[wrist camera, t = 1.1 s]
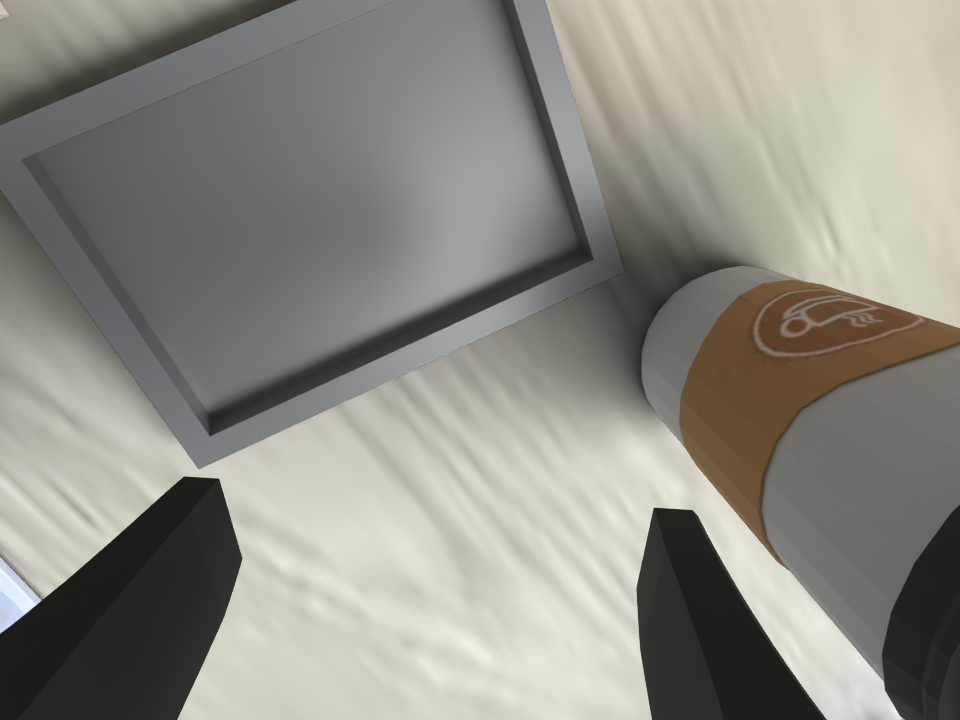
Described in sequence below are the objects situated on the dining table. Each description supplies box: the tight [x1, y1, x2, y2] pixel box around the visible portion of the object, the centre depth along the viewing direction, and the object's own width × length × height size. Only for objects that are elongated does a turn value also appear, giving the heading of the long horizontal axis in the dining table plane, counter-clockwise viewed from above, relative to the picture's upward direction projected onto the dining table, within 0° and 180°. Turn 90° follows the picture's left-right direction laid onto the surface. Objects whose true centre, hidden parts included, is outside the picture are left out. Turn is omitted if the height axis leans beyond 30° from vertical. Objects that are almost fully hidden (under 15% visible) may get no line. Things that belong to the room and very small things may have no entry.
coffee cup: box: [641, 266, 960, 720], centre depth 18 cm, size 8×8×15 cm
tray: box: [0, 0, 625, 469], centre depth 19 cm, size 14×10×2 cm
